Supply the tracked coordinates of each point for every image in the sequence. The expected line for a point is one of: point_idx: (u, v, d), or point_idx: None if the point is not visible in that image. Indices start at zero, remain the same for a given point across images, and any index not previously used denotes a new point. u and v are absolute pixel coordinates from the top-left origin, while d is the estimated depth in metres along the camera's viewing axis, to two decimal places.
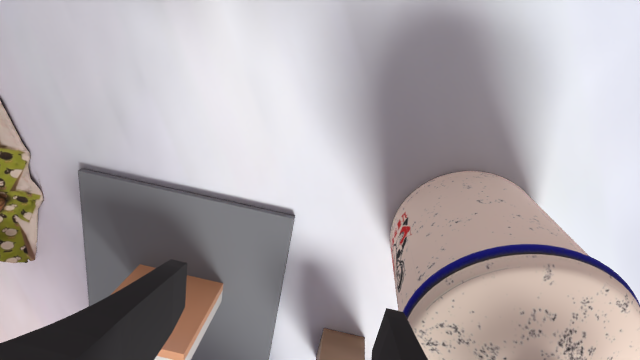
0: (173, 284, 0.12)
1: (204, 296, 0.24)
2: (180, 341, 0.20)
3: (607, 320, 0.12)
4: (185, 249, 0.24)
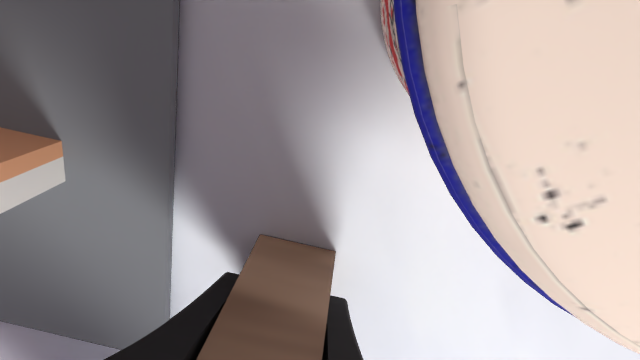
0: None
1: (3, 150, 0.12)
2: None
3: None
4: None
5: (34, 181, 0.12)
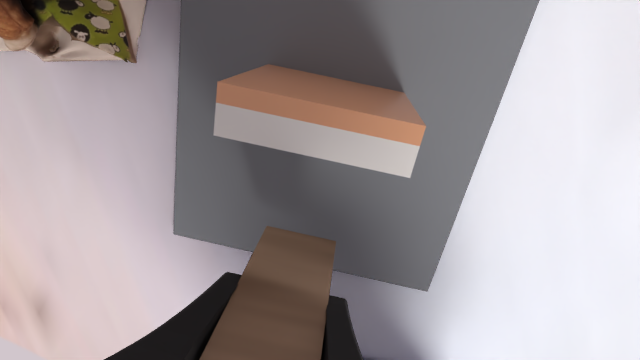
0: None
1: (390, 95, 0.14)
2: (404, 116, 0.11)
3: None
4: (351, 27, 0.15)
5: None
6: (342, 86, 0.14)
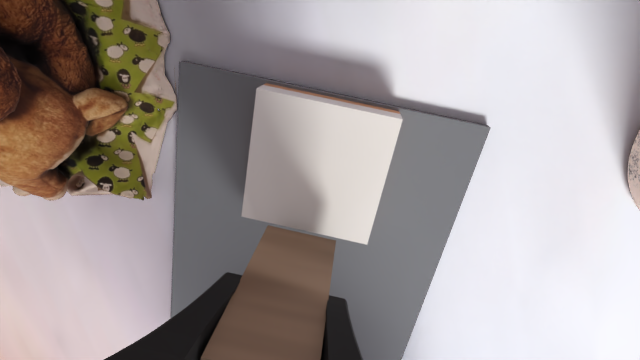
0: None
1: None
2: None
3: None
4: None
5: None
6: None
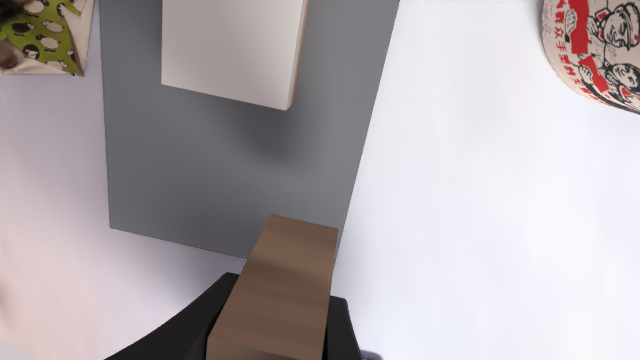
0: None
1: None
2: None
3: None
4: None
5: (292, 80, 0.17)
6: None
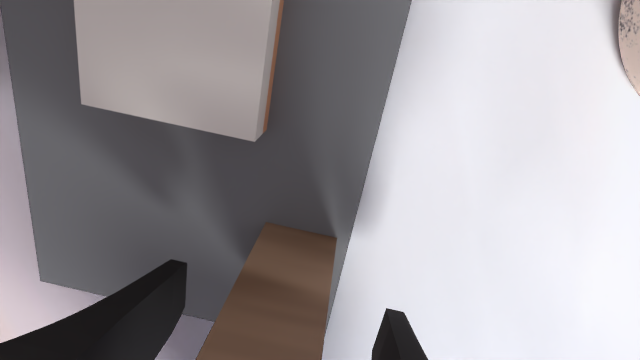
0: (173, 284, 0.12)
1: None
2: None
3: None
4: None
5: (263, 99, 0.12)
6: None
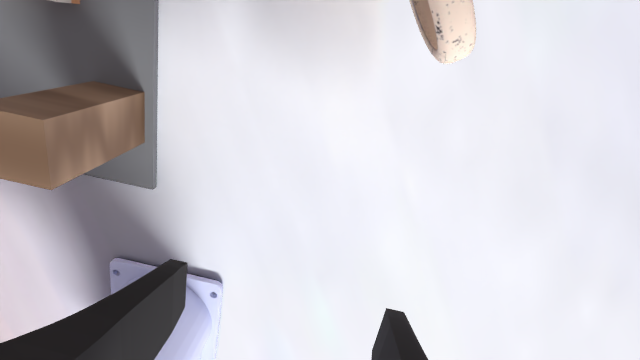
0: (173, 284, 0.12)
1: None
2: None
3: None
4: None
5: None
6: None
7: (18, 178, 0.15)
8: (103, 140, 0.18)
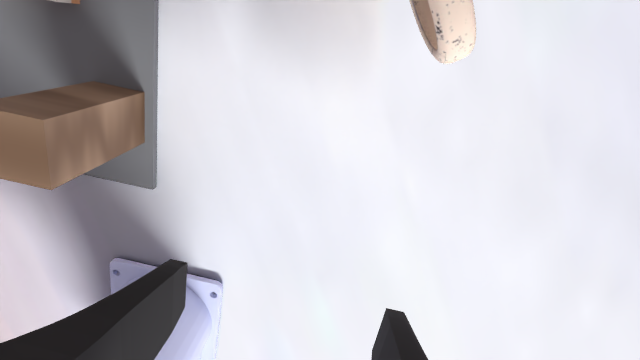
0: (173, 284, 0.12)
1: None
2: None
3: None
4: None
5: None
6: None
7: (18, 178, 0.15)
8: (103, 140, 0.18)
